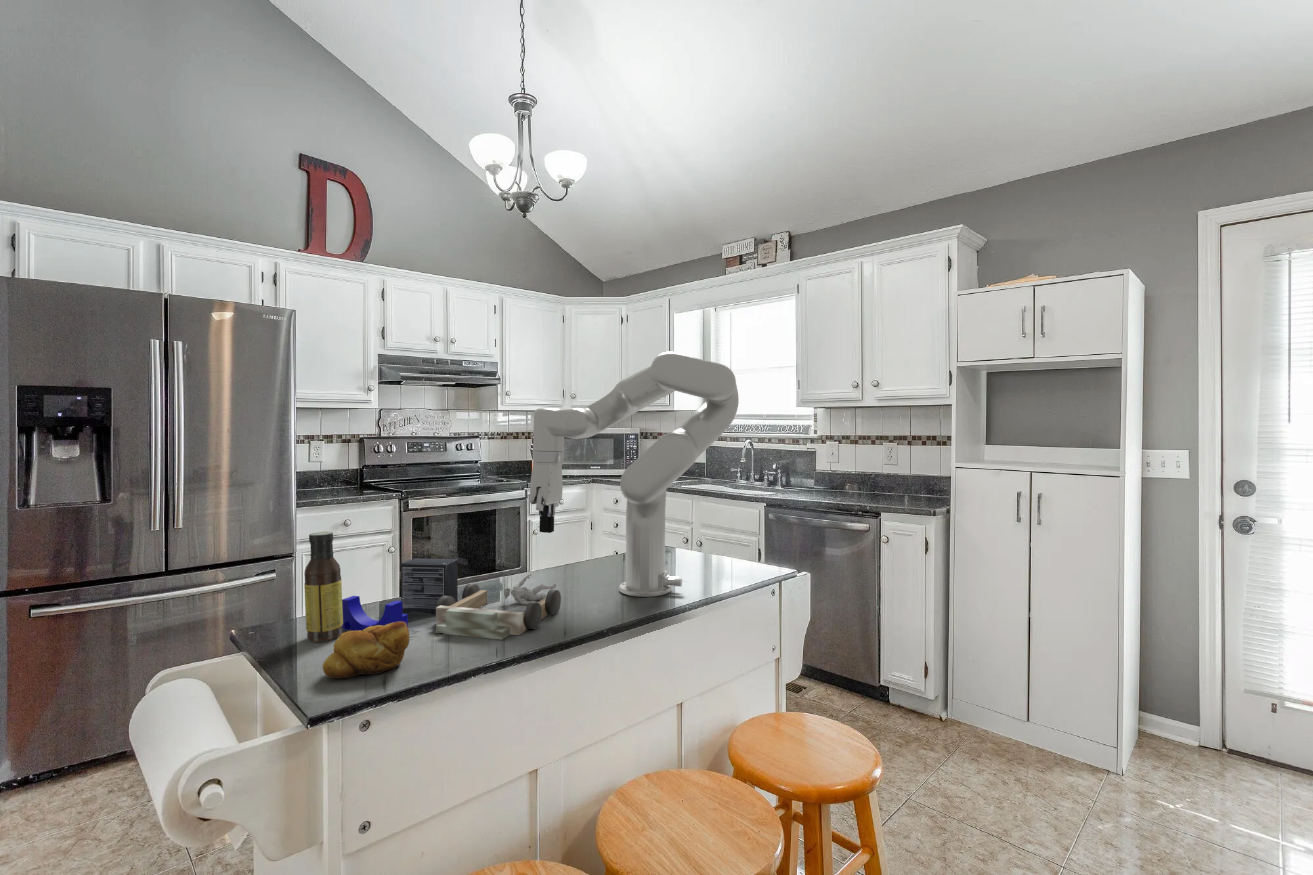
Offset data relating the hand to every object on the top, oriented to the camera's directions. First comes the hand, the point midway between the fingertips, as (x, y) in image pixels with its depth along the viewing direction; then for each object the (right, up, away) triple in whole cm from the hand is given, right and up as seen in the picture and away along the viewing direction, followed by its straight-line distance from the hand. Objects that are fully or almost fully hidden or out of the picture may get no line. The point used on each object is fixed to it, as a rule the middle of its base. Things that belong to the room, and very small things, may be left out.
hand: (546, 531), depth 156 cm
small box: (-23, -14, -18) cm, 32 cm away
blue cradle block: (-28, -15, -32) cm, 45 cm away
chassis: (-6, -14, -26) cm, 30 cm away
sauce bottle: (-36, -15, -37) cm, 54 cm away
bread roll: (-21, -15, -52) cm, 58 cm away
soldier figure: (-1, -14, -12) cm, 19 cm away
